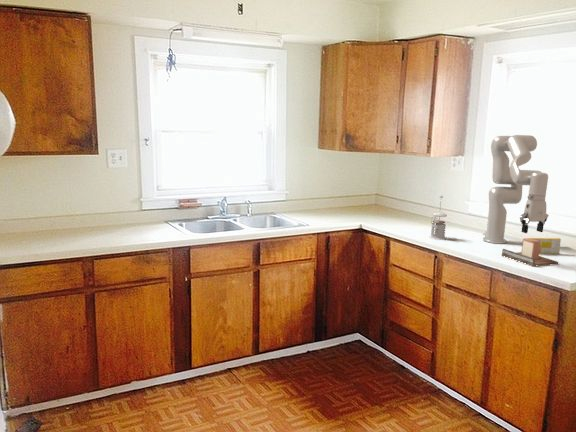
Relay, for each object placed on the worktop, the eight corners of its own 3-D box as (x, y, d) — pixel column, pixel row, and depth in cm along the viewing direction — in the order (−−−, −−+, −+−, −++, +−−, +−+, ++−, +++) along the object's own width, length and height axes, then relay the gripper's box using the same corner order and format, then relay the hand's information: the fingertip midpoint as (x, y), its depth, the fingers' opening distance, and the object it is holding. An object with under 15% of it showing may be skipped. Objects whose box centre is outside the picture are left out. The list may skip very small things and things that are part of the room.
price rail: (502, 253, 257) (502, 248, 256) (503, 253, 257) (503, 248, 257) (533, 264, 238) (533, 259, 238) (534, 263, 239) (535, 259, 238)
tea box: (532, 259, 246) (534, 241, 245) (520, 256, 253) (523, 238, 251) (538, 259, 248) (540, 241, 246) (527, 255, 254) (529, 238, 253)
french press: (434, 240, 288) (438, 196, 284) (424, 235, 299) (427, 193, 295) (449, 239, 291) (453, 196, 286) (438, 235, 302) (442, 193, 297)
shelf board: (501, 255, 257) (501, 253, 257) (525, 253, 262) (526, 251, 262) (532, 266, 238) (533, 264, 238) (558, 264, 244) (558, 261, 244)
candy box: (557, 253, 267) (559, 238, 265) (559, 254, 265) (561, 238, 263) (527, 252, 266) (529, 237, 264) (529, 253, 264) (531, 238, 262)
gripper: (529, 199, 238) (524, 234, 242) (556, 198, 244) (551, 233, 248) (516, 197, 245) (512, 231, 249) (543, 196, 251) (539, 229, 255)
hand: (532, 232), depth 248 cm, fingers open, 9 cm apart
